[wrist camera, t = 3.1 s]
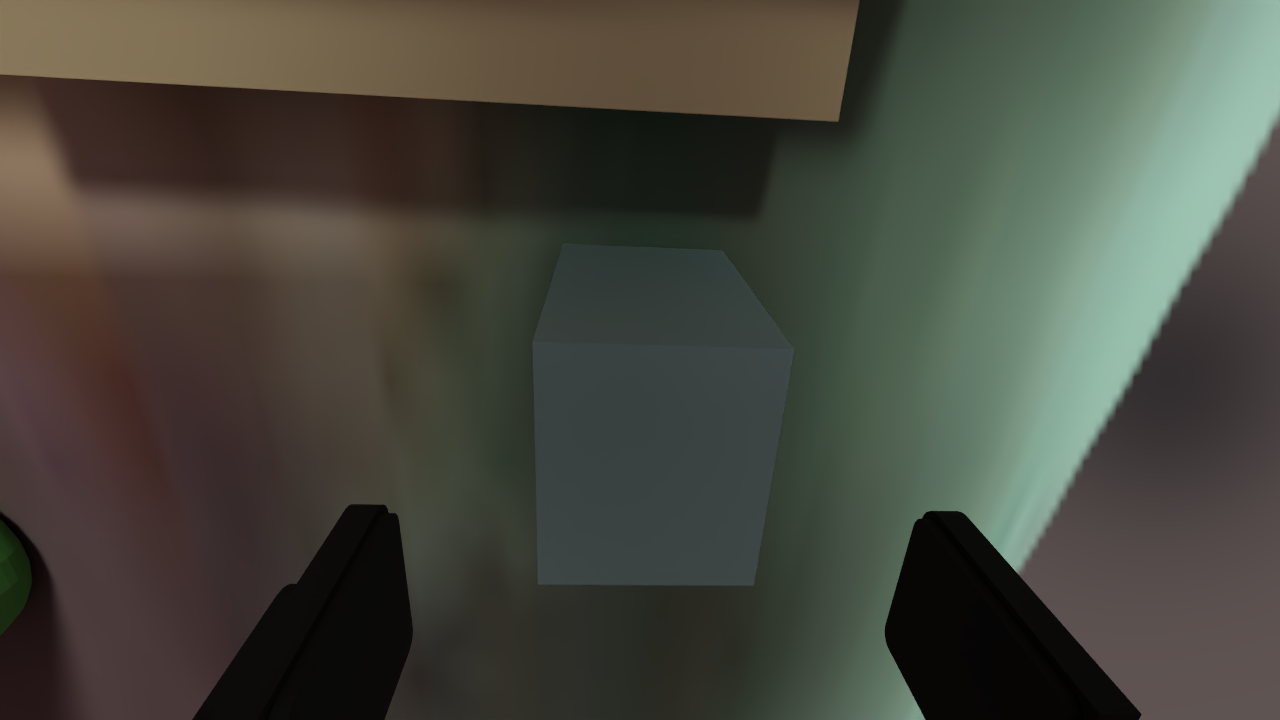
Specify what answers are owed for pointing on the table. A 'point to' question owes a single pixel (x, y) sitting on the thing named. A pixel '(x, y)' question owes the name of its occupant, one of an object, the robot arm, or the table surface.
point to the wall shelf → (459, 49)
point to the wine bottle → (12, 577)
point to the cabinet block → (654, 418)
